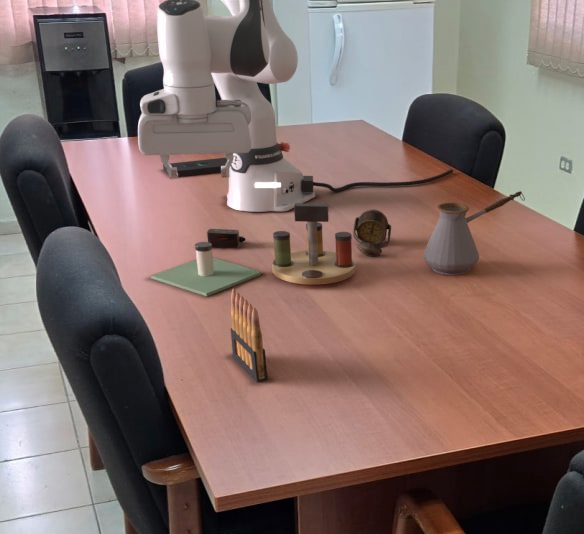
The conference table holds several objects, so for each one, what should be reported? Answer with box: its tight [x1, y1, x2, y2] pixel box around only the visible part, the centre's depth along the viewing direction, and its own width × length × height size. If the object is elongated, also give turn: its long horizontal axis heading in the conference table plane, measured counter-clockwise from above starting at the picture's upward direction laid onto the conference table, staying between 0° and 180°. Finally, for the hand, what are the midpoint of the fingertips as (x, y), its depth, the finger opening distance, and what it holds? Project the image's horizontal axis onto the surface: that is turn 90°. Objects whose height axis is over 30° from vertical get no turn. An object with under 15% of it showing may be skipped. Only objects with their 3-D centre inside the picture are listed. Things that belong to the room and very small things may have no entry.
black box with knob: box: [206, 228, 246, 249], centre depth 202 cm, size 5×7×3 cm, turn 89°
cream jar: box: [194, 241, 214, 276], centre depth 184 cm, size 3×3×6 cm
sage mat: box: [150, 256, 263, 297], centre depth 186 cm, size 15×15×1 cm
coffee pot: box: [422, 190, 526, 276], centre depth 193 cm, size 21×12×15 cm, turn 112°
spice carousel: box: [271, 203, 356, 285], centre depth 186 cm, size 16×16×13 cm
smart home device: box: [162, 157, 228, 178], centre depth 252 cm, size 8×2×20 cm
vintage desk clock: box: [352, 209, 392, 257], centre depth 203 cm, size 7×13×10 cm
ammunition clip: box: [230, 288, 269, 383], centre depth 150 cm, size 11×2×12 cm, turn 32°
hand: (199, 177), depth 178 cm, fingers open, 8 cm apart
